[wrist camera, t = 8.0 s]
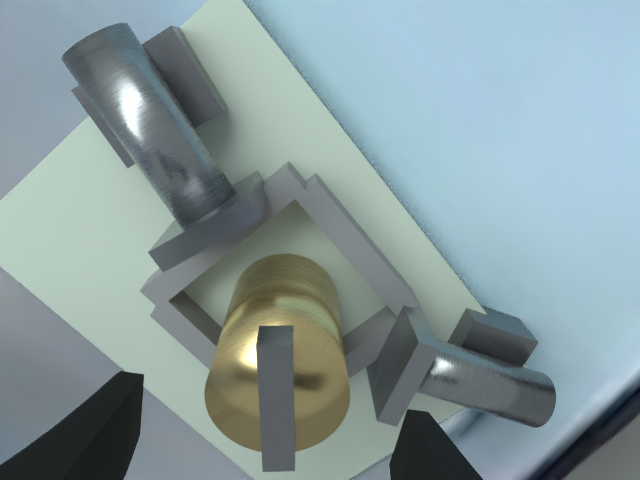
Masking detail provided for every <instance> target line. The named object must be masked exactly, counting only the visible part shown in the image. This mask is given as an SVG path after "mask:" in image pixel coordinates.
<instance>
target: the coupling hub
mask: <svg viewBox="0 0 640 480" xmlns="http://www.w3.org/2000/svg"><path fill="white" fill-rule="evenodd" d="M204 397H205V404H206V409H207V411H208V414H209V416H210V418H211V420H212V422H213V423H214V424H215V426H216V427H217V428H218V429H219V430H220V431H221V432H222V433H223V434H224V435H225V436H226V437H227V438H229V439H230V440H232V441H233V442H235V443H237V444H239V445H241V446H243V447H245V448H248V449H251V450H254V451H258V452H262V470H263V472H284V471H295V452H298V451H301V450H305V449H308V448H310V447H313V446H315V445H317V444H319V443H321V442H322V441H324V440H325V439H327V438H328V437H329V436H330V435H332V434H333V433H334V432H335V431H336V430H337V428H338V427H339V426H340V425H341V423H342V422H343V420H344V418H345V416H346V414H347V412H348V408H349V404H350V385H349V378H348V371H347V364H346V357H345V349H344V342H343V335H342V328H341V321H340V313H339V306H338V299H337V293H336V288H335V285H334V283H333V281H332V279H331V277H330V276H329V275H328V273H327V272H326V271H325V270H324V269H323V268H322V267H321V266H320V265H318V264H317V263H316V262H314V261H312V260H310V259H308V258H306V257H303V256H300V255H295V254H274V255H269V256H266V257H263V258H261V259H259V260H257V261H255V262H254V263H252V264H251V265H250V266H248V267H247V268H246V269H245V270H244V271H243V273H242V274H241V275H240V277H239V278H238V280H237V282H236V285H235V288H234V291H233V294H232V298H231V301H230V304H229V308H228V311H227V314H226V318H225V321H224V324H223V328H222V331H221V334H220V338H219V341H218V344H217V347H216V351H215V354H214V357H213V361H212V364H211V367H210V371H209V374H208V377H207V381H206V384H205V391H204Z"/></svg>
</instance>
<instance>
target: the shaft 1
mask: <svg viewBox="0 0 640 480" xmlns="http://www.w3.org/2000/svg"><path fill="white" fill-rule="evenodd" d="M62 61H63V62H64V64H65V65H66V67H67V68H68V69H69V71H70V72H71V74H72V75H73V76H74V78H75V79H76V81H77V82H78V84H79V85H78V86H77V87H75V88H74V89H72V90H71V91H72V92H73V94H74V95H75V96H76V98H77V99H78V101H79V102H80V103H81V105H82V106H83V107H84V109H85V110H86V112H87V113H88V114H89V116H90V117H91V119H92V120H93V121H94V123H95V124H96V125H97V127H98V128H99V130H100V131H101V132H102V134H103V135H104V137H105V138H106V139H107V141H108V142H109V143H110V145H111V146H112V148H113V149H114V150H115V152H116V153H117V155H118V156H119V157H120V159H121V160H122V161H123V163H124V164H125V166H126V167H127V168H129V167H131V166H133V165H134V164H136V165H137V166H138V168H139V169H140V171H141V172H142V173H143V175H144V176H145V178H146V179H147V180H148V182H149V183H150V185H151V186H152V187H153V189H154V190H155V192H156V193H157V194H158V196H159V197H160V199H161V200H162V201H163V203H164V204H165V206H166V207H167V208H168V210H169V211H170V213H171V214H172V215H173V217H174V218H175V220H174V221H173V222H172V223H171V225H170V226H169V227H168V228H167V229H166V231H165V232H164V233H163V234H162V236H161V237H160V238H159V239H158V240H157V242H156V243H155V244H154V245H153V246H152V248H151V249H150V250H149V251H148V253H149V255H150V256H151V257H152V259H153V260H154V261H155V263H156V264H157V265H158V267H159V268H160V269H161V271H162V272H165V271H167V270H169V269H171V268H173V267H174V266H176V265H178V264H180V263H182V262H183V261H185V260H187V259H189V258H191V257H193V256H194V255H196V254H198V253H200V252H202V251H203V250H205V249H207V248H209V247H211V246H213V245H214V244H216V243H218V242H220V241H222V240H223V239H225V238H227V237H229V236H231V235H233V234H234V233H236V232H238V231H240V230H242V229H244V228H245V227H247V226H249V225H251V224H253V223H254V222H256V221H258V220H260V219H261V216H262V213H263V209H264V206H265V202H266V198H267V195H266V193H265V191H264V190H263V188H264V185H265V181H264V179H263V178H262V176H261V174H260V173H259V171H256V172H254V173H252V174H251V175H249V176H247V177H245V178H244V179H242V180H240V181H238V182H236V183H235V184H233V185H231V183H230V181H229V180H228V178H227V177H226V175H225V174H224V172H223V171H222V169H221V167H220V166H219V164H218V163H217V161H216V160H215V158H214V157H213V155H212V154H211V152H210V150H209V149H208V147H207V146H206V144H205V143H204V141H203V140H202V138H201V136H200V135H199V133H198V132H197V130H196V129H195V128H196V127H198V126H199V125H201V124H203V123H204V122H206V121H208V120H209V119H211V118H213V117H214V116H216V115H218V114H219V113H221V112H223V111H224V110H226V109H228V106H227V105H226V103H225V101H224V100H223V98H222V97H221V95H220V93H219V92H218V90H217V88H216V87H215V85H214V83H213V82H212V80H211V78H210V77H209V75H208V74H207V72H206V70H205V69H204V67H203V65H202V64H201V62H200V60H199V59H198V57H197V55H196V54H195V52H194V51H193V49H192V47H191V46H190V44H189V42H188V41H187V39H186V37H185V36H184V34H183V33H182V31H181V29H180V28H178V27H174V26H170V27H169V28H167V29H165V30H164V31H162V32H161V33H159V34H158V35H156V36H155V37H153V38H151V39H150V40H148V41H147V42H145V43H144V44H142V45H141V43H140V42H139V40H138V39H137V37H136V36H135V34H134V33H133V31H132V30H131V28H130V26H129V25H128V24H127V23H119V24H115V25H111V26H108V27H106V28H103V29H101V30H99V31H97V32H95V33H93V34H91V35H89V36H87V37H85V38H84V39H82V40H81V41H79V42H78V43H76V44H75V45H73V46H72V47H71V48H70V49H69V50H67V51H66V52H65V54H64V55H63V57H62Z"/></svg>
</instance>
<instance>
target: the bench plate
mask: <svg viewBox="0 0 640 480" xmlns="http://www.w3.org/2000/svg"><path fill="white" fill-rule="evenodd" d="M180 29H181V31H182V33H183V34H184V36H185V37H186V39H187V41H188V42H189V44H190V46H191V47H192V49H193V51H194V52H195V54H196V55H197V57H198V59H199V60H200V62H201V64H202V65H203V67H204V69H205V70H206V72H207V74H208V75H209V77H210V78H211V80H212V82H213V83H214V85H215V87H216V88H217V90H218V92H219V93H220V95H221V97H222V98H223V100H224V101H225V103H226V105H227V106H228V109H226V110H224V111H223V112H221V113H219V114H218V115H216V116H214V117H213V118H211V119H209V120H208V121H206V122H204V123H203V124H201V125H199V126H198V127H196V128H195V129H196V130H197V132H198V133H199V135H200V136H201V138H202V140H203V141H204V143H205V144H206V146H207V147H208V149H209V150H210V152H211V154H212V155H213V157H214V158H215V160H216V161H217V163H218V164H219V166H220V167H221V169H222V171H223V172H224V174H225V175H226V177H227V178H228V180H229V181H230V183H231V185H233V184H235V183H236V182H238V181H240V180H242V179H244V178H245V177H247V176H249V175H251V174H252V173H254V172H256V171H259V173H260V174H261V176H262V178H263V179H264V181H265V185H264V188H263V190H264V191H265V193H266V195H267V198H266V202H265V206H264V209H263V213H262V216H261V219H260V220H258V221H256V222H254V223H253V224H251V225H249V226H247V227H245V228H244V229H242V230H240V231H238V232H236V233H234V234H233V235H231V236H229V237H227V238H225V239H223V240H222V241H220V242H218V243H216V244H214V245H213V246H211V247H209V248H207V249H205V250H203V251H202V252H200V253H198V254H196V255H194V256H193V257H191V258H189V259H187V260H185V261H183V262H182V263H180V264H178V265H176V266H174V267H173V268H171V269H169V270H167V271H165V272H162V271H161V269H160V268H159V267H158V265H157V264H156V263H155V261H154V260H153V259H152V257H151V256H150V255H149V253H148V251H149V250H150V249H151V248H152V246H153V245H154V244H155V243H156V242H157V240H158V239H159V238H160V237H161V236H162V234H163V233H164V232H165V231H166V229H167V228H168V227H169V226H170V225H171V223H172V222H173V221H174V220H175V218H174V217H173V215H172V214H171V213H170V211H169V210H168V208H167V207H166V206H165V204H164V203H163V201H162V200H161V199H160V197H159V196H158V194H157V193H156V192H155V190H154V189H153V187H152V186H151V185H150V183H149V182H148V180H147V179H146V178H145V176H144V175H143V173H142V172H141V171H140V169H139V168H138V166H137V165H136V164H134V165H133V166H131V167H129V168H127V167H126V166H125V164H124V163H123V161H122V160H121V159H120V157H119V156H118V155H117V153H116V152H115V150H114V149H113V148H112V146H111V145H110V143H109V142H108V141H107V139H106V138H105V137H104V135H103V134H102V132H101V131H100V130H99V128H98V127H97V125H96V124H95V123H94V121H93V120H92V119H91V117H90V116H88V117H87V118H86V119H85V120H84V121H83V122H82V123H81V124H80V125H79V126H78V127H77V128H76V129H74V130H73V131H72V132H71V133H70V134H69V135H68V136H67V137H66V138H65V139H64V140H63V141H62V142H61V143H60V144H59V145H58V146H57V147H56V148H55V149H54V150H53V151H52V152H51V153H50V154H49V155H48V156H47V157H45V158H44V159H43V160H42V161H41V162H40V163H39V164H38V165H37V166H36V167H35V168H34V169H33V170H32V171H31V172H30V173H29V174H28V175H27V176H26V177H25V178H24V179H23V180H22V181H21V182H20V183H19V184H18V185H16V186H15V187H14V188H13V189H12V190H11V191H10V192H9V193H8V194H7V195H6V196H5V197H4V198H3V199H2V200H1V201H0V266H1V267H2V268H3V269H4V270H5V271H7V272H8V273H9V274H10V275H11V276H13V277H14V278H15V279H16V280H17V281H19V282H20V283H21V284H22V285H23V286H24V287H26V288H27V289H28V290H29V291H30V292H32V293H33V294H34V295H35V296H36V297H38V298H39V299H40V300H41V301H42V302H44V303H45V304H46V305H47V306H48V307H49V308H51V309H52V310H53V311H54V312H55V313H57V314H58V315H59V316H60V317H61V318H63V319H64V320H65V321H66V322H67V323H69V324H70V325H71V326H72V327H73V328H74V329H76V330H77V331H78V332H79V333H80V334H82V335H83V336H84V337H85V338H86V339H88V340H89V341H90V342H91V343H92V344H94V345H95V346H96V347H97V348H98V349H100V350H101V351H102V352H103V353H104V354H105V355H107V356H108V357H109V358H110V359H111V360H113V361H114V362H115V363H116V364H117V365H119V366H120V367H121V368H122V369H123V370H125V371H126V372H131V373H139V374H144V384H143V386H144V387H145V388H146V389H147V390H148V391H150V392H151V393H152V394H153V395H154V396H155V397H157V398H158V399H159V400H160V401H161V402H163V403H164V404H165V405H166V406H167V407H169V408H170V409H171V410H172V411H173V412H175V413H176V414H177V415H178V416H179V417H180V418H182V419H183V420H184V421H185V422H186V423H188V424H189V425H190V426H191V427H192V428H194V429H195V430H196V431H197V432H198V433H200V434H201V435H202V436H203V437H204V438H205V439H207V440H208V441H209V442H210V443H211V444H213V445H214V446H215V447H216V448H217V449H219V450H220V451H221V452H222V453H223V454H225V455H226V456H227V457H228V458H229V459H230V460H232V461H233V462H234V463H235V464H236V465H238V466H239V467H240V468H241V469H242V470H244V471H245V472H246V473H247V474H248V475H250V476H251V477H252V478H253V479H254V480H349V479H351V478H352V477H354V476H355V475H357V474H359V473H360V472H362V471H364V470H365V469H367V468H368V467H370V466H372V465H373V464H375V463H376V462H378V461H380V460H381V459H383V458H384V457H386V456H388V455H389V454H391V453H392V452H394V449H395V446H396V443H397V439H398V436H399V433H400V430H401V427H402V424H403V421H404V418H405V415H406V411H407V409H411V410H419V411H426V412H429V413H430V414H431V416H432V417H433V418H434V419H435V421H436V422H437V423H438V424H439V423H441V422H442V421H444V420H445V419H447V418H449V417H450V416H452V415H453V414H455V413H457V412H458V411H460V410H461V409H463V408H465V407H464V406H461V405H458V404H454V403H451V402H448V401H444V400H441V399H438V398H434V397H431V396H428V395H424V394H421V393H418V392H416V393H415V395H414V397H413V398H412V400H411V402H410V404H409V406H408V407H407V409H406V411H405V413H404V415H403V417H402V418H401V420H400V422H399V424H398V426H397V427H395V426H392V425H388V424H385V423H381V422H378V421H377V419H376V414H375V409H374V404H373V399H372V394H371V389H370V384H369V379H368V374H367V369H366V367H367V366H368V365H370V364H371V363H373V362H374V361H376V359H377V357H378V355H379V353H380V351H381V349H382V347H383V345H384V343H385V341H386V339H387V337H388V335H389V333H390V331H391V329H392V327H393V325H394V323H395V321H396V320H395V317H394V314H395V315H396V316H397V317H398V315H399V313H400V311H401V309H402V307H403V305H405V306H408V307H411V308H415V307H416V306H418V305H419V306H420V308H421V310H422V312H423V314H424V316H425V319H426V321H427V323H428V325H429V327H430V329H431V331H432V334H433V336H434V338H435V339H438V340H441V341H444V342H448V340H449V338H450V336H451V334H452V333H453V331H454V329H455V327H456V325H457V324H458V322H459V320H460V318H461V316H462V315H463V313H464V311H465V309H466V308H469V309H472V310H475V311H478V312H481V313H484V314H487V313H486V312H485V311H484V309H483V308H482V306H481V305H480V304H479V303H478V301H477V300H476V299H475V297H474V296H473V295H472V294H471V292H470V291H469V290H468V288H467V287H466V286H465V285H464V283H463V282H462V281H461V279H460V278H459V277H458V276H457V274H456V273H455V272H454V271H453V269H452V268H451V267H450V265H449V264H448V263H447V262H446V260H445V259H444V258H443V256H442V255H441V254H440V253H439V251H438V250H437V249H436V247H435V246H434V245H433V244H432V242H431V241H430V240H429V238H428V237H427V236H426V235H425V233H424V232H423V231H422V229H421V228H420V227H419V226H418V224H417V223H416V222H415V221H414V219H413V218H412V217H411V215H410V214H409V213H408V212H407V210H406V209H405V208H404V206H403V205H402V204H401V203H400V201H399V200H398V199H397V197H396V196H395V195H394V194H393V192H392V191H391V190H390V188H389V187H388V186H387V185H386V183H385V182H384V181H383V179H382V178H381V177H380V176H379V174H378V173H377V172H376V171H375V169H374V168H373V167H372V165H371V164H370V163H369V162H368V160H367V159H366V158H365V156H364V155H363V154H362V153H361V151H360V150H359V149H358V147H357V146H356V145H355V144H354V142H353V141H352V140H351V138H350V137H349V136H348V135H347V133H346V132H345V131H344V130H343V128H342V127H341V126H340V124H339V123H338V122H337V121H336V119H335V118H334V117H333V115H332V114H331V113H330V112H329V110H328V109H327V108H326V106H325V105H324V104H323V103H322V101H321V100H320V99H319V97H318V96H317V95H316V94H315V92H314V91H313V90H312V88H311V87H310V86H309V85H308V83H307V82H306V81H305V80H304V78H303V77H302V76H301V74H300V73H299V72H298V71H297V69H296V68H295V67H294V65H293V64H292V63H291V62H290V60H289V59H288V58H287V56H286V55H285V54H284V53H283V51H282V50H281V49H280V47H279V46H278V45H277V44H276V42H275V41H274V40H273V38H272V37H271V36H270V35H269V33H268V32H267V31H266V30H265V28H264V27H263V26H262V24H261V23H260V22H259V21H258V19H257V18H256V17H255V15H254V14H253V13H252V12H251V10H250V9H249V8H248V6H247V5H246V4H245V3H244V1H243V0H208V1H207V2H206V3H205V4H204V5H203V6H202V7H201V8H200V9H199V10H198V11H197V12H196V13H195V14H194V15H193V16H192V17H190V18H189V19H188V20H187V21H186V22H185V23H184V24H183V25H182V26H181V27H180ZM274 254H295V255H300V256H303V257H306V258H308V259H310V260H312V261H314V262H316V263H317V264H318V265H320V266H321V267H322V268H323V269H324V270H325V271H326V272H327V273H328V275H329V276H330V277H331V279H332V281H333V283H334V285H335V288H336V293H337V299H338V306H339V313H340V321H341V328H342V335H343V342H344V349H345V357H346V364H347V371H348V378H349V385H350V404H349V408H348V412H347V414H346V416H345V418H344V420H343V422H342V423H341V425H340V426H339V427H338V428H337V430H336V431H335V432H334V433H333V434H332V435H330V436H329V437H328V438H327V439H325V440H324V441H322V442H321V443H319V444H317V445H315V446H313V447H310V448H308V449H305V450H301V451H298V452H295V471H284V472H263V470H262V452H258V451H254V450H251V449H248V448H245V447H243V446H241V445H239V444H237V443H235V442H233V441H232V440H230V439H229V438H227V437H226V436H225V435H224V434H223V433H222V432H221V431H220V430H219V429H218V428H217V427H216V426H215V424H214V423H213V422H212V420H211V418H210V416H209V414H208V411H207V409H206V404H205V397H204V391H205V384H206V381H207V377H208V374H209V371H210V367H211V364H212V361H213V357H214V354H215V351H216V347H217V344H218V341H219V338H220V334H221V331H222V328H223V324H224V321H225V318H226V314H227V311H228V308H229V304H230V301H231V298H232V294H233V291H234V288H235V285H236V282H237V280H238V278H239V277H240V275H241V274H242V273H243V271H244V270H245V269H246V268H247V267H248V266H250V265H251V264H252V263H254V262H255V261H257V260H259V259H261V258H263V257H266V256H269V255H274ZM393 313H394V314H393ZM523 367H524V368H529V367H528V366H527V365H526V363H525V364H524V365H523Z"/></svg>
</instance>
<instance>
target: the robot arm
mask: <svg viewBox="0 0 640 480" xmlns="http://www.w3.org/2000/svg"><path fill="white" fill-rule="evenodd" d="M143 384H144V374H139V373H131V372H123V371H120V372H119V373H117V374H116V375H114V376H113V377H112V378H111V379H110V380H109V381H108V382H107V383H106V384H104V385H103V386H102V387H101V388H100V389H99V390H98V391H96V392H95V393H94V394H93V395H92V396H91V397H90V398H88V399H87V400H86V401H85V402H84V403H83V404H81V405H80V406H79V407H78V408H76V409H75V410H74V411H73V412H72V413H70V414H69V415H68V416H67V417H65V418H64V419H63V420H62V421H60V422H59V423H58V424H57V425H55V426H54V427H53V428H52V429H50V430H49V431H48V432H46V433H45V434H43V435H42V436H41V437H39V438H38V439H37V440H35V441H34V442H33V443H31V444H30V445H29V446H27V447H26V448H25V449H23V450H22V451H20V452H19V453H17V454H16V455H14V456H13V457H12V458H10V459H9V460H7V461H6V462H4V463H3V464H1V465H0V480H123V479H124V477H125V475H126V472H127V470H128V467H129V464H130V461H131V459H132V456H133V453H134V450H135V447H136V444H137V442H138V439H139V436H140V426H141V412H142V398H143ZM390 475H391V480H483V479H482V478H481V476H480V475H479V474H478V473H477V472H476V471H475V469H474V468H473V467H472V466H471V465H470V463H469V462H468V461H467V460H466V458H465V457H464V456H463V455H462V453H461V452H460V451H459V450H458V449H457V447H456V446H455V445H454V443H453V442H452V441H451V440H450V438H449V437H448V436H447V435H446V433H445V432H444V431H443V429H442V428H441V427H440V426H439V424H438V423H437V422H436V421H435V419H434V418H433V417H432V416H431V414H430V413H429V412H426V411H419V410H411V409H407V411H406V415H405V418H404V421H403V424H402V427H401V430H400V433H399V436H398V439H397V443H396V446H395V449H394V452H393V455H392V458H391V461H390Z"/></svg>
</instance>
